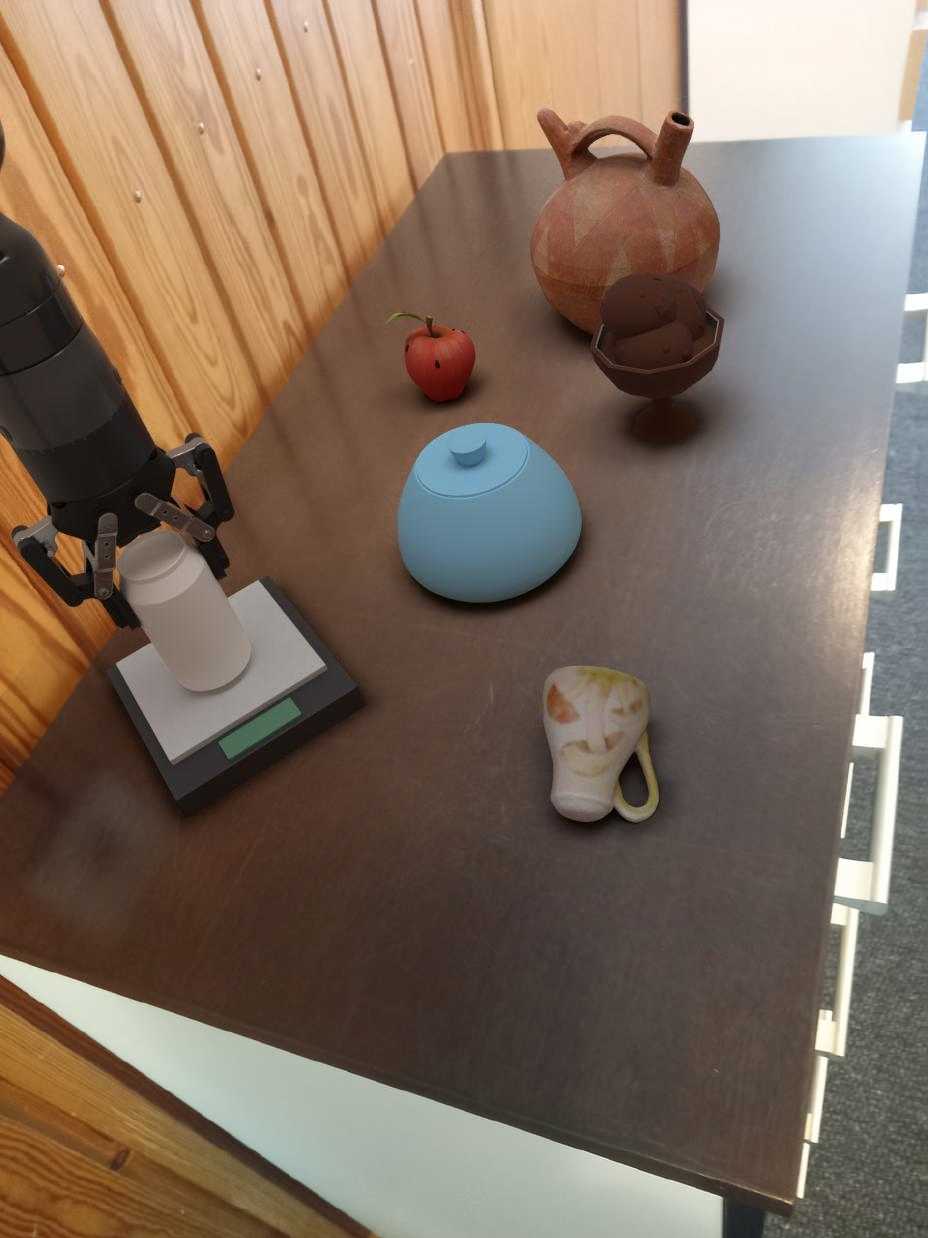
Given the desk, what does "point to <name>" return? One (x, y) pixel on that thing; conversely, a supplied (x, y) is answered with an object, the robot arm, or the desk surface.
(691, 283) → the jug
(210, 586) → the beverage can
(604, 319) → the ice cream bowl
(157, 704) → the scale
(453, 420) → the desk surface
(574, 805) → the mug
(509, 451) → the sugar bowl
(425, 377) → the apple
